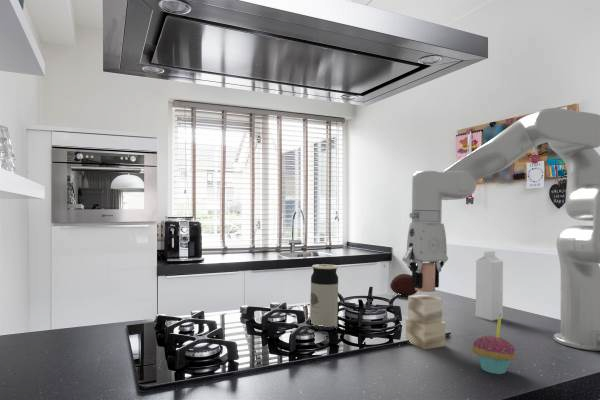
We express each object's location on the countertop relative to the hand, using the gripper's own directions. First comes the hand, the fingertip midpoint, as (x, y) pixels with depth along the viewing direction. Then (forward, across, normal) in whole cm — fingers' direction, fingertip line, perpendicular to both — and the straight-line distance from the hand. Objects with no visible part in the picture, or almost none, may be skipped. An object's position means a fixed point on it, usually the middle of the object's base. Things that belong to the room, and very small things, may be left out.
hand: (425, 286), depth 106 cm
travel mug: (+15, -18, +22) cm, 32 cm away
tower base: (+15, 0, 0) cm, 15 cm away
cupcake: (+15, +1, -20) cm, 25 cm away
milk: (+15, +40, +13) cm, 45 cm away
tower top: (+9, 0, 0) cm, 9 cm away
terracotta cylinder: (+1, 0, 0) cm, 1 cm away
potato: (+15, +37, +51) cm, 65 cm away
